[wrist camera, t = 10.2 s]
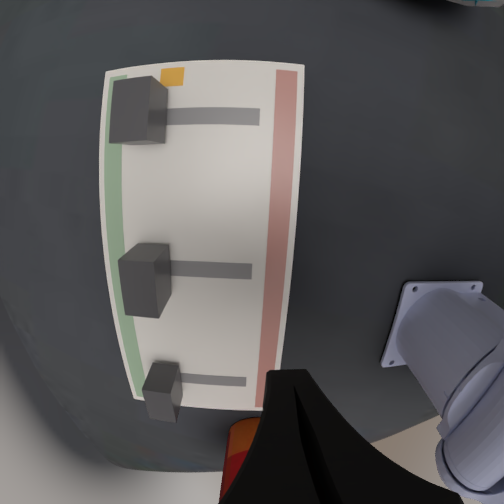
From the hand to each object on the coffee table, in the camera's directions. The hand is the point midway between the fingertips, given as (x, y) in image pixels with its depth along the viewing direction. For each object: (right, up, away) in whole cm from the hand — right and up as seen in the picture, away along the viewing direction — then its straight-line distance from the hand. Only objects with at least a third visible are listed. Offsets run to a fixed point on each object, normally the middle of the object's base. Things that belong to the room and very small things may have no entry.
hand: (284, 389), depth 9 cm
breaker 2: (-7, +4, +8) cm, 11 cm away
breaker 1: (-7, +12, +5) cm, 15 cm away
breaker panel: (-5, +4, +9) cm, 11 cm away
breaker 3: (-7, -5, +10) cm, 14 cm away
